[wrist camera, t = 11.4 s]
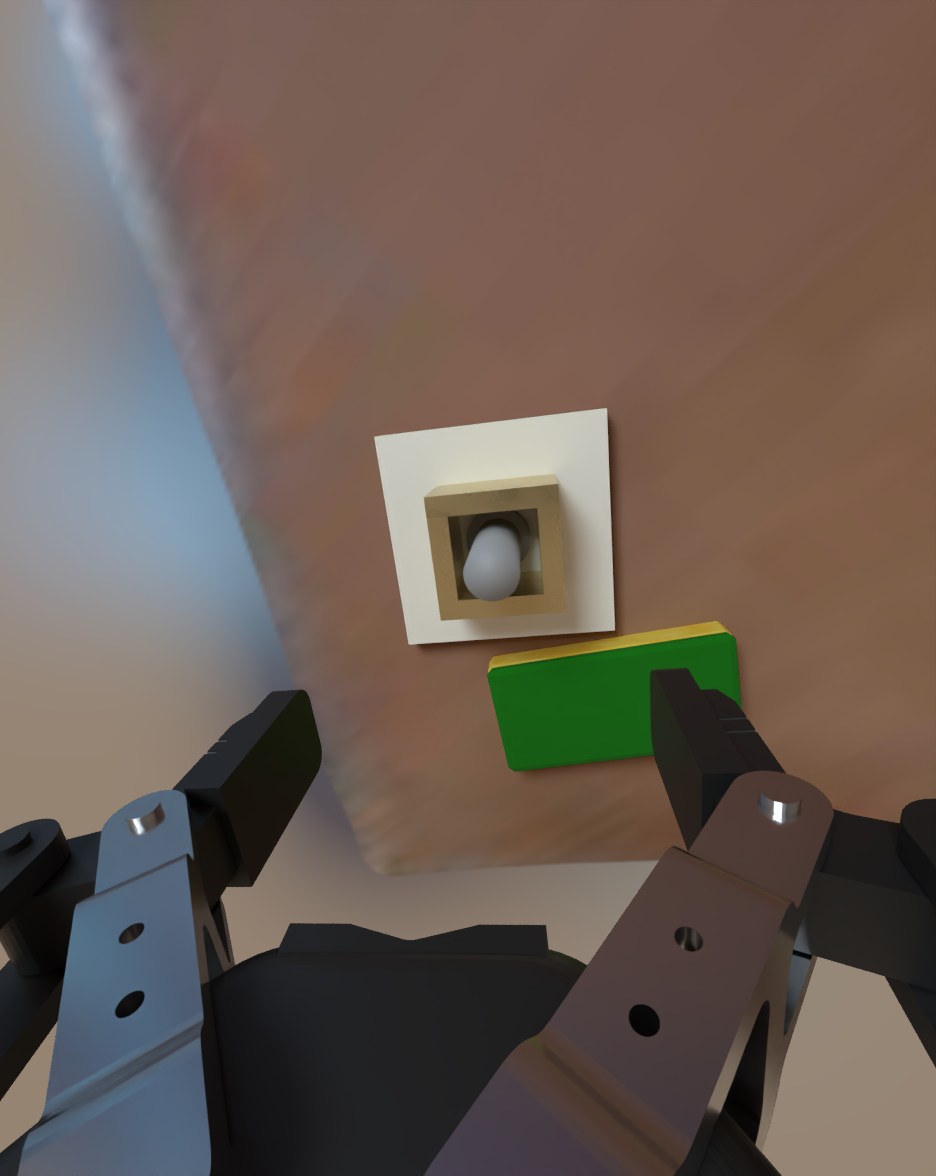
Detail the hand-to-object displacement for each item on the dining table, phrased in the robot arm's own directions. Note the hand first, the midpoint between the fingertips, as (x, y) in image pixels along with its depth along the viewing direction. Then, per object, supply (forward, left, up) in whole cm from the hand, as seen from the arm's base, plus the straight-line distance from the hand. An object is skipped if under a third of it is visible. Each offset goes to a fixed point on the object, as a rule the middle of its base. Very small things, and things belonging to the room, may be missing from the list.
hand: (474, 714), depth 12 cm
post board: (0, 0, -19) cm, 19 cm away
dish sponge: (-5, +11, -20) cm, 23 cm away
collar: (0, 0, -18) cm, 18 cm away
